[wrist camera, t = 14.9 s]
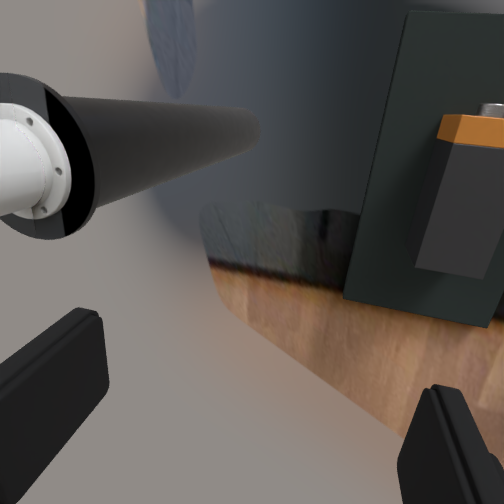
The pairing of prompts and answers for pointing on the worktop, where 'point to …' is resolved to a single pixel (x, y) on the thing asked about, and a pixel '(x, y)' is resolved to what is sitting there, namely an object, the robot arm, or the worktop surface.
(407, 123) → the mat
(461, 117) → the battery
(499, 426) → the worktop surface
